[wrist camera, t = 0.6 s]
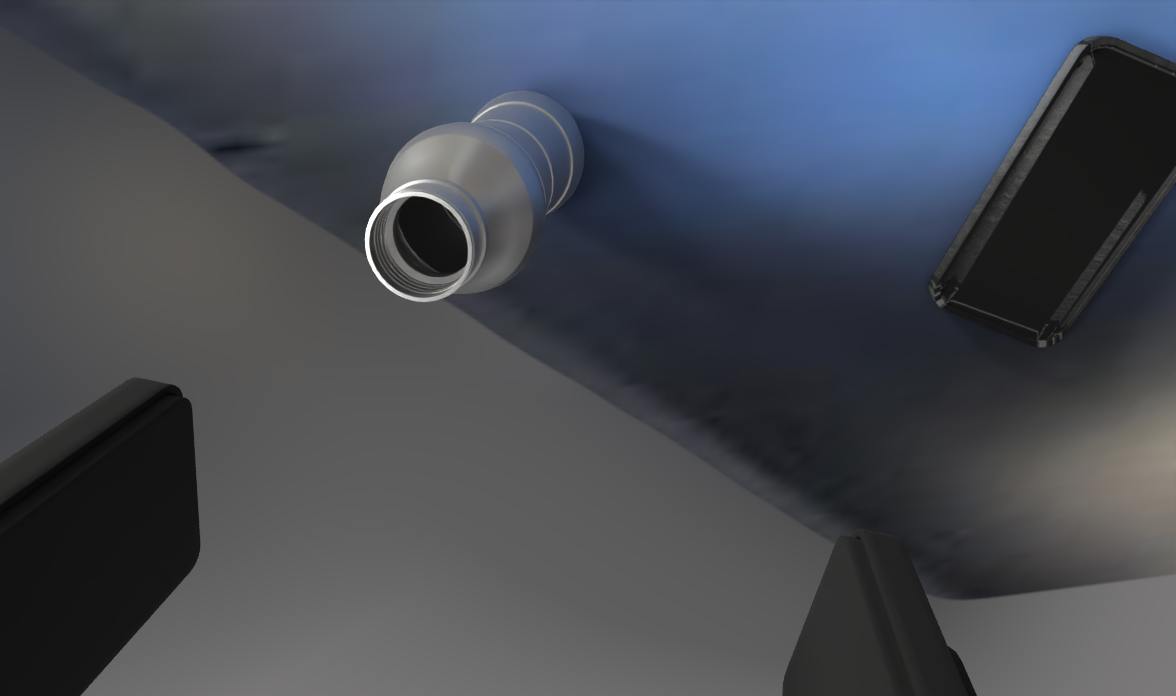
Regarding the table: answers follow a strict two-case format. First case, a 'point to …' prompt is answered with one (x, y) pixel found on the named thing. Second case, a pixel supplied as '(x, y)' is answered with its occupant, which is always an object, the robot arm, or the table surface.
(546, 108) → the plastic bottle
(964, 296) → the phone
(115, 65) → the table surface
